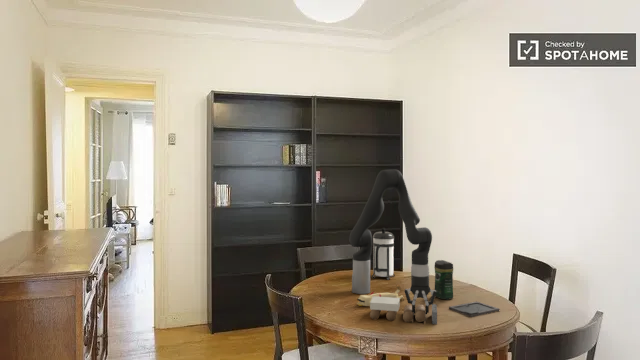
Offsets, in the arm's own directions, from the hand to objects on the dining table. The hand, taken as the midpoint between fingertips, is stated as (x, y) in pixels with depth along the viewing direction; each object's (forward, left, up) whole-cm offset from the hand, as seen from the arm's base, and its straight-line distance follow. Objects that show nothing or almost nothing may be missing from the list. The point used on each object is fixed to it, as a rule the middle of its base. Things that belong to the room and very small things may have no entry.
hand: (420, 313), depth 193 cm
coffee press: (-23, +72, -3) cm, 76 cm away
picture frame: (+24, +19, -3) cm, 31 cm away
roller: (0, 0, -2) cm, 2 cm away
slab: (-15, 0, +2) cm, 15 cm away
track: (-9, 0, -2) cm, 10 cm away
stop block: (+6, 0, -2) cm, 6 cm away
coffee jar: (+11, +37, -3) cm, 39 cm away
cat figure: (-20, +19, -3) cm, 27 cm away
